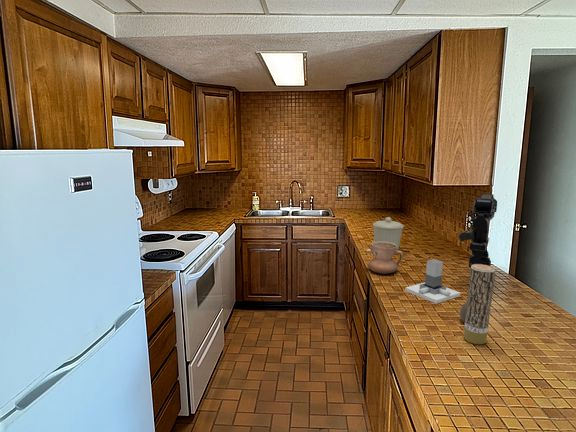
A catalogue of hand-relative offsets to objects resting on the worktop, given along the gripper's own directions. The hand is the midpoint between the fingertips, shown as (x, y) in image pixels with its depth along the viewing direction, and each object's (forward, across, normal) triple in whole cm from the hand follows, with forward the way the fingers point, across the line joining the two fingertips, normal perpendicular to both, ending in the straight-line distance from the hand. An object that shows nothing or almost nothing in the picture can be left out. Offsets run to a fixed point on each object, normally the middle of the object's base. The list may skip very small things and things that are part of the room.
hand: (477, 261), depth 168 cm
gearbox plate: (+13, +16, -15) cm, 25 cm away
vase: (+13, +38, +2) cm, 40 cm away
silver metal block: (+12, +16, -15) cm, 25 cm away
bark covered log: (+13, +51, +5) cm, 53 cm away
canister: (+13, -39, -52) cm, 66 cm away
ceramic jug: (+13, -1, -42) cm, 44 cm away
